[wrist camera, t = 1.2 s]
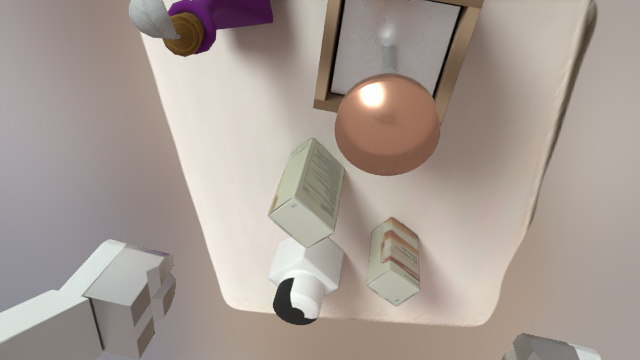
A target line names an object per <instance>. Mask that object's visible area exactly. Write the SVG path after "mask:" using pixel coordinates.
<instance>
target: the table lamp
mask: <svg viewBox="0 0 640 360" xmlns="http://www.w3.org/2000/svg"><path fill="white" fill-rule="evenodd" d="M459 10H460V5H456V4H450V3H444V2H439V1H433V0H346V1H345V8H344V14H343V20H342V26H341V33H340V39H339V45H338V51H337V57H336V64H335V70H334V76H333V82H332V88H331V92H333V93H338V94H343V95H345V96H344V98H343V100H342V102H341V104H340V107H339V111H338V114H337V118H336V122H335V137H336V142H337V144H338V147H339V149H340V151H341V152H342V154H343V155H344V157H345V158H346V159H347V160H348V161H349V162H350V163H351V164H353V165H354V166H356V167H357V168H359V169H361V170H363V171H365V172H368V173H371V174H375V175H381V176H392V175H399V174H403V173H406V172H409V171H411V170H413V169H415V168H417V167H418V166H420V165H421V164H422V163H424V162H425V161H426V160H427V159H428V158H429V157H430V155H431V154H432V153H433V151H434V149H435V147H436V145H437V143H438V139H439V135H440V123H439V117H438V112H437V107H436V104H435V101H434V99H433V97H432V95H433V92H434V88H435V85H436V82H437V79H438V76H439V73H440V70H441V66H442V63H443V60H444V57H445V54H446V51H447V48H448V44H449V41H450V38H451V35H452V32H453V29H454V26H455V22H456V19H457V16H458V13H459Z"/></svg>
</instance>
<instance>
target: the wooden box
mask: <svg viewBox="0 0 640 360" xmlns="http://www.w3.org/2000/svg"><path fill="white" fill-rule="evenodd" d="M345 1H346V0H328V4H327V11H326V19H325V26H324V33H323V40H322V48H321V55H320V62H319V70H318V77H317V84H316V92H315V99H314V106H313V108H315V109H321V110H326V111H331V112H336V113H338V111H339V107H340V104H341V102H342V100H343V98H344V96H345V95H343V94H338V93H333V92H331V88H332V82H333V76H334V70H335V64H336V57H337V51H338V45H339V39H340V33H341V26H342V20H343V14H344V8H345ZM433 1H439V2H444V3H450V4H456V5H460V10H459V13H458V16H457V19H456V22H455V26H454V29H453V32H452V35H451V38H450V41H449V44H448V48H447V51H446V54H445V57H444V60H443V63H442V66H441V70H440V73H439V76H438V79H437V82H436V85H435V88H434V92H433V95H432V97H433V99H434V101H435V104H436V107H437V112H438V117H439V123H440V126H441V123H442V120H443V117H444V114H445V112H446V109H447V106H448V103H449V100H450V97H451V94H452V91H453V89H454V86H455V83H456V80H457V77H458V74H459V71H460V68H461V65H462V63H463V60H464V57H465V54H466V51H467V48H468V45H469V42H470V40H471V37H472V34H473V31H474V28H475V25H476V22H477V19H478V16H479V14H480V11H481V8H482V5H483V2H484V0H433Z"/></svg>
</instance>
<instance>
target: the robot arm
mask: <svg viewBox="0 0 640 360" xmlns="http://www.w3.org/2000/svg"><path fill="white" fill-rule="evenodd" d="M173 267H174V260H173V255H171V254H167V253H163V252H159V251H156V250H152V249H148V248H144V247H139V246H136V245H132V244H127V243H123V242H119V241H114V240H111V239H110V240H108V241H105V242H104V243H102V244H101V245H100V246H99V248H97V250H96V251H95V252H94V253H93V254H92V255H91V256H90V257H89V258H88V259H87V261H86V262H85V263H84V264H83V265H82V266H81V267H80V268H79V269H78V270H77V272H75V274H74V275H73V276H72V277H71V278H70V279H69V280H68V281H67V282H66V283H65V284H64V286H63V287H62V288H61V289H60V290H59V291H56V290H50V291H48V292H46V293H44V294H41V295H39V296H37V297H35V298H33V299H30V300H28V301H26V302H24V303H21V304H19V305H17V306H15V307H13V308H10V309H8V310H6V311H4V312H1V313H0V360H95V359H96V358H98V357H99V356H100V355H102V354H103V351H105V352H110V353H114V354H119V355H124V356H128V357H133V358H138V359H140V358H141V356H142V354H143V353H144V351H145V349H146V348H147V346H148V344H149V343H150V341H151V339H152V338H153V336H154V334H155V330H154V323H155V322H157V321H159V320H161V319H162V318H164V317H165V315H166V313H167V312H168V310H169V308H170V306H171V303H172V300H173V298H174V295H175V288H176V281H175V278H174V276H173V275H172V274H171V273H170V271H171V270H172V268H173ZM513 344H514V348H515V350H514V351H511V352H509V353H506V354H505V355H504V356H503V358H502V360H601V358H600V356H599V354H598V353H597V352H596V351H595V350H594V349H592V348H587V347H583V346H579V345H574V344H570V343H566V342H562V341H557V340H553V339H548V338H543V337H539V336H534V335H529V334H525V333H522V334H520V335H518V336H517V338H516V339H515V340H514V342H513Z"/></svg>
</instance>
